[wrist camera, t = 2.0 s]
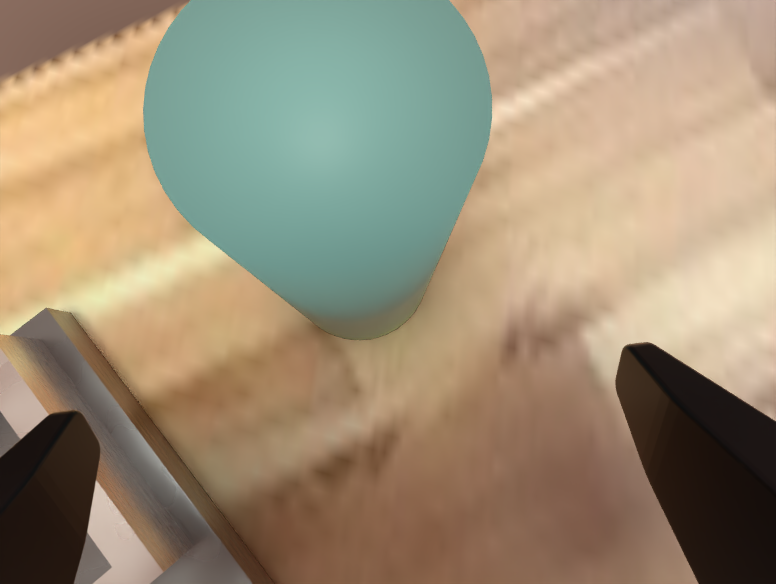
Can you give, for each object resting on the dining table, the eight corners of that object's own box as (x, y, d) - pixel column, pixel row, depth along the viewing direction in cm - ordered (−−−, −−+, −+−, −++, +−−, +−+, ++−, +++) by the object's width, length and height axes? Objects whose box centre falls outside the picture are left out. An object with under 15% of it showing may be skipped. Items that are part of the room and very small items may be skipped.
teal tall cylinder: (455, 280, 21) (564, 123, 8) (349, 368, 21) (288, 349, 8) (368, 179, 22) (343, -114, 9) (263, 263, 21) (74, 81, 8)
